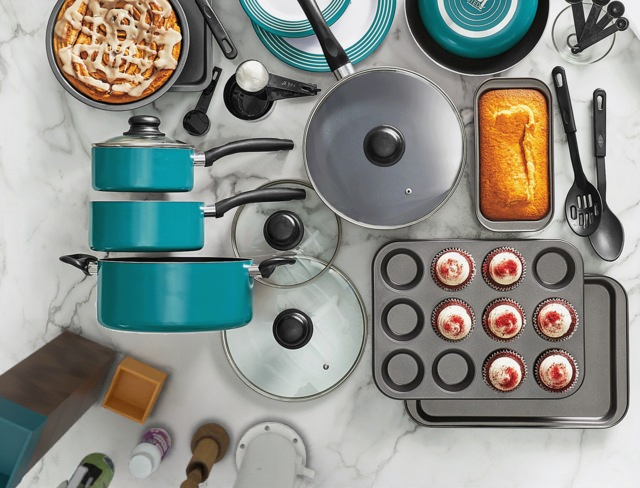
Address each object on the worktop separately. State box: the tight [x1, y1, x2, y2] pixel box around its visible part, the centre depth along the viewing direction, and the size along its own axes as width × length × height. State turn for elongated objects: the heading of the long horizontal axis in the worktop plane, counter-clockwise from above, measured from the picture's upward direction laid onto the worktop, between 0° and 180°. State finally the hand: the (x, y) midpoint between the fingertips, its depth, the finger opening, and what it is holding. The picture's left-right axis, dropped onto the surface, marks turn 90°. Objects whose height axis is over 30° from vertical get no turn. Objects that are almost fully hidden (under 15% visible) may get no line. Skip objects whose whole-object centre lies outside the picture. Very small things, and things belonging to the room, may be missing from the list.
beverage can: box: [68, 452, 116, 488], centre depth 109 cm, size 6×7×12 cm
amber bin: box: [100, 356, 169, 425], centre depth 120 cm, size 8×8×4 cm
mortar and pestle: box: [179, 422, 230, 488], centre depth 113 cm, size 7×6×18 cm
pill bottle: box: [127, 427, 172, 480], centre depth 118 cm, size 5×5×10 cm
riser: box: [0, 329, 118, 478], centre depth 108 cm, size 10×10×28 cm
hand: (85, 487), depth 108 cm, fingers closed on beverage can, 6 cm apart
